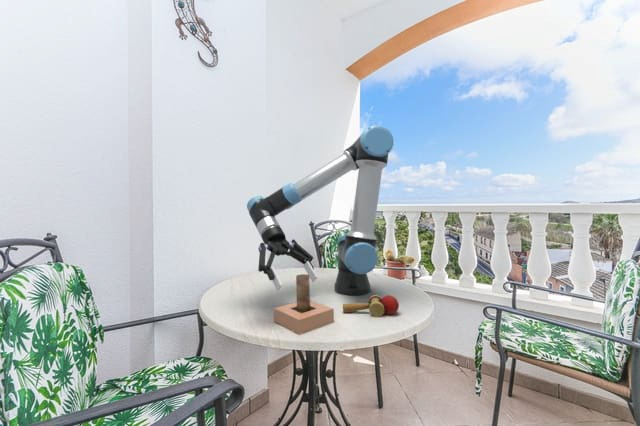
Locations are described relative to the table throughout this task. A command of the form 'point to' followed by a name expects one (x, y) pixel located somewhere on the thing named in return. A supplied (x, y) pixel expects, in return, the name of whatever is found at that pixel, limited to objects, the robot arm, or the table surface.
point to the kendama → (375, 305)
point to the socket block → (303, 317)
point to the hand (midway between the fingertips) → (298, 283)
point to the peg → (303, 293)
